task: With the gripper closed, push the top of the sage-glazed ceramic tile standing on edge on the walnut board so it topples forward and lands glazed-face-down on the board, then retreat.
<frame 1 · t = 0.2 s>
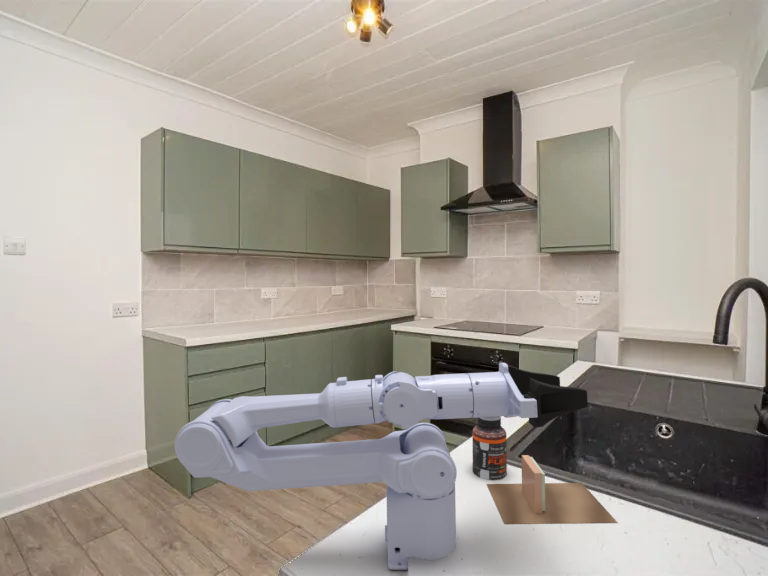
hand: (571, 390, 54), 21 cm above the countertop, tool horizontal, fingers open, 7 cm apart
tile: (533, 501, 63), point 1 cm above the countertop, touching board
supplement bottle: (489, 479, 73), on the countertop
board: (546, 509, 63), on the countertop
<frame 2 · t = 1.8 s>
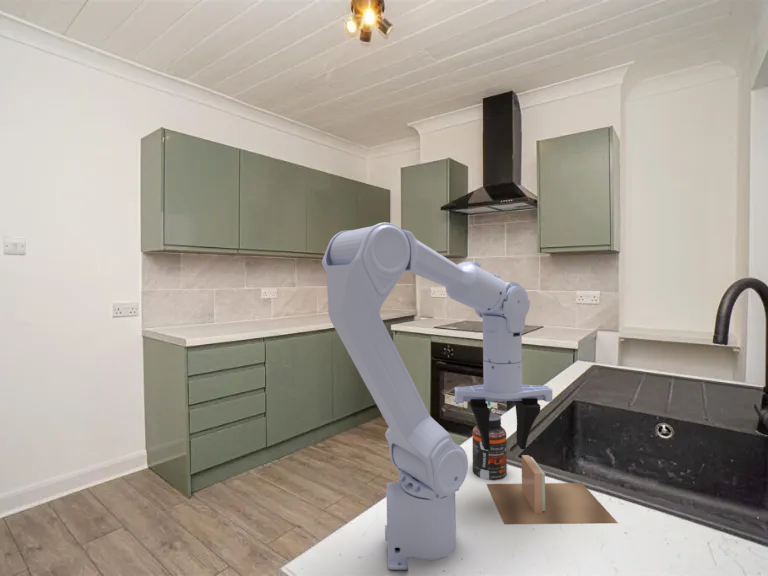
hand: (503, 447, 63), 10 cm above the countertop, tool pointing down, fingers open, 5 cm apart
nothing on the countertop moved.
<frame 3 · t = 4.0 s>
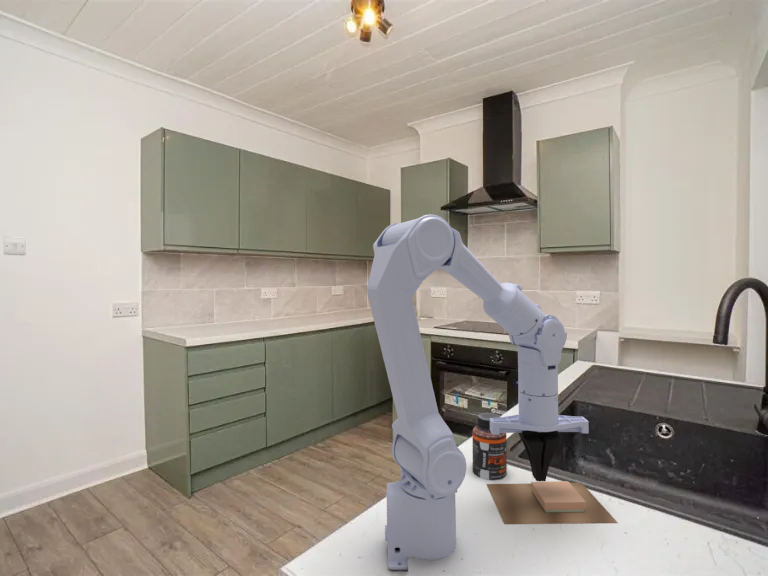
hand: (538, 478, 63), 5 cm above the countertop, tool pointing down, fingers closed
tile: (537, 496, 63), point 2 cm above the countertop, tilted 90°, touching board
everything else where it was.
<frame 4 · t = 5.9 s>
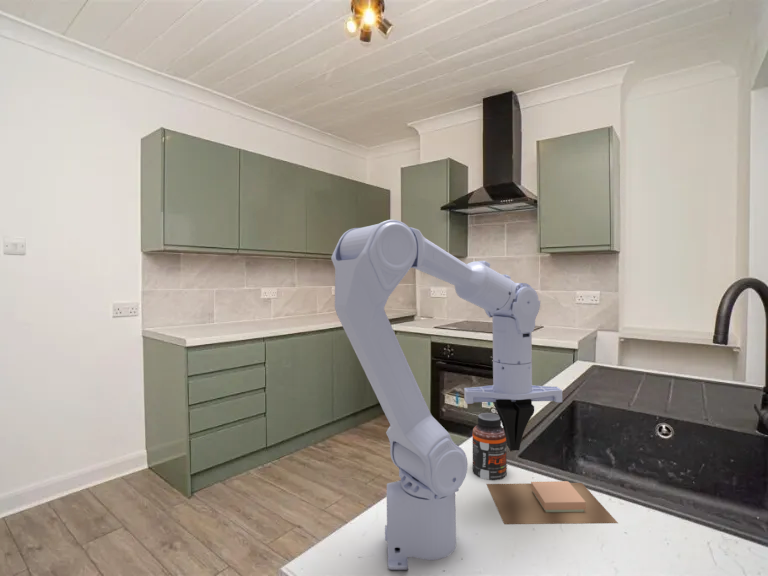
hand: (513, 447, 63), 10 cm above the countertop, tool pointing down, fingers closed
nothing on the countertop moved.
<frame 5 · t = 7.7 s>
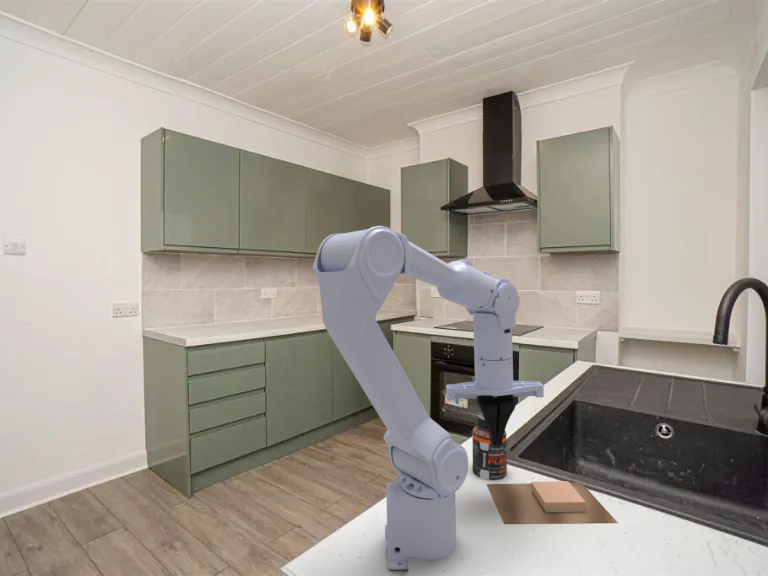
hand: (495, 443, 63), 10 cm above the countertop, tool pointing down, fingers closed
nothing on the countertop moved.
at the end: tile tilted 90°; tile inside the target area (2.8 cm from its centre), point 2.0 cm above the countertop; the gripper is holding nothing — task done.
